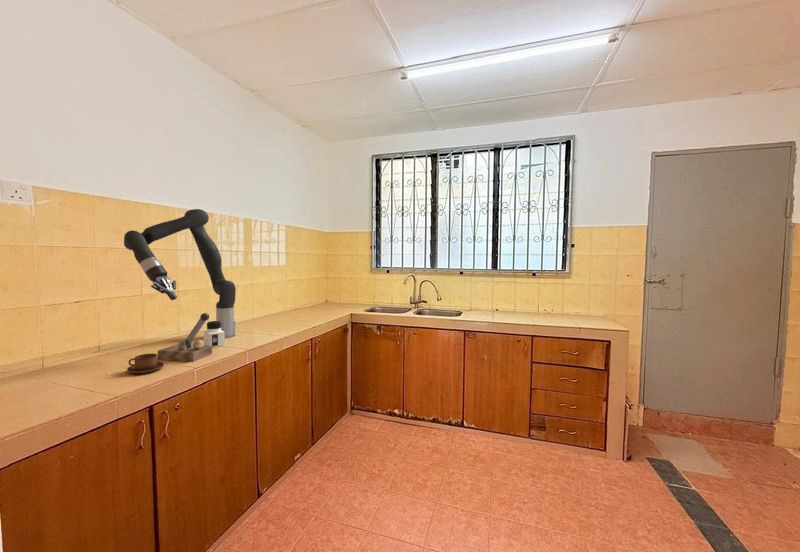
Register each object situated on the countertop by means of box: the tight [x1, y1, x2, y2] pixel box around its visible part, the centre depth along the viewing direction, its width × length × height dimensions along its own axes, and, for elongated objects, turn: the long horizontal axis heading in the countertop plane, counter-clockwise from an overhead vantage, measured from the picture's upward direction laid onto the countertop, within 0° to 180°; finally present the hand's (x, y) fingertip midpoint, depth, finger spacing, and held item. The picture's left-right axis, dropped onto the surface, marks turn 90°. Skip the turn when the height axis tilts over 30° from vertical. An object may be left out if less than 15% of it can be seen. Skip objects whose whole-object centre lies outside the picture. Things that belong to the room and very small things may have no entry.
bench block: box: [157, 338, 213, 363], centre depth 154 cm, size 18×12×8 cm, turn 83°
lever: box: [184, 312, 210, 348], centre depth 153 cm, size 4×4×20 cm
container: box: [203, 320, 225, 349], centre depth 173 cm, size 8×8×13 cm
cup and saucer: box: [126, 353, 165, 375], centre depth 135 cm, size 12×12×6 cm
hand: (174, 299), depth 155 cm, fingers closed
